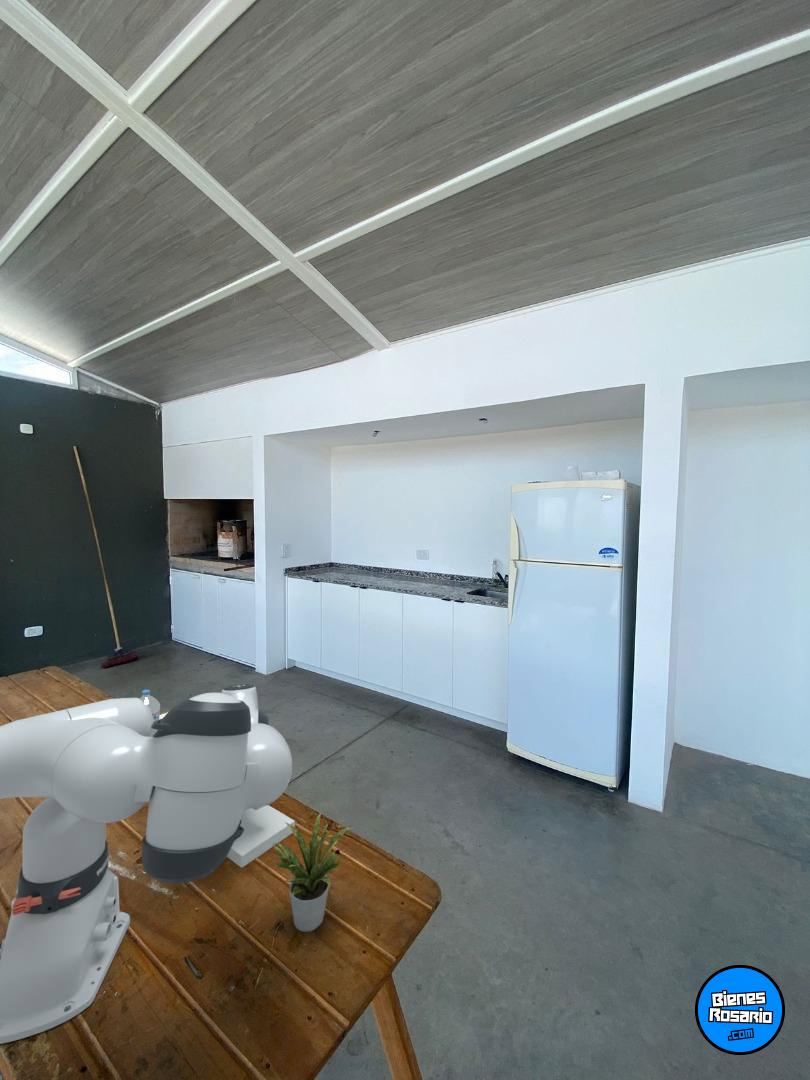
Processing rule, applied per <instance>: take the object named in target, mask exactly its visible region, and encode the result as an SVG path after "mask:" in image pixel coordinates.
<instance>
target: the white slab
mask: <svg viewBox="0 0 810 1080" xmlns="http://www.w3.org/2000/svg"><path fill="white" fill-rule="evenodd" d="M241 820H242V821H241V825H240V826H241V827H243V828H244V831H243V833H242V835H241V836H240V837H239V838H238V839H236V840H235V841H234V843H233V845H232V847H231V849H230V851H229V853H228V855H227V856H226V858H228V859H229V860H230V861H232V862H233V863H235V864H236V865H237V866H239V867H240V868H244V867H245V866H247V865H249V864H250V863H251V862H253V861H254V860H256V859H257V858H259V857H260V856H261V855H263V854H265V853H266V852H268V851H269V850H270V849H272V848H274V847H273V845H275V846H277V845H276V844H274V843H280V842H282V841H283V840H284V839H286V838H287V837H289V836H290V835H292V834H293V831H292V830H291V829H290V828H289V827H288V825H287V824H286V823H288V824H290V825H292V826H293V827H294V828H296V825H295V824H296V820H294V819H292V818H291V817H289V816H287V815H285V814H284V813H283V812H280V811H279V810H277V809H276V808H274V807H272V806H270V804H269V805H267V806H264V807H262V808H260V809H258V810H254V809H252V808H250V809H247V810H246V811H245V812H244V813H243V815H242V818H241ZM285 822H286V823H285ZM291 832H292V833H291ZM272 844H273V845H272ZM255 858H256V859H255Z"/></svg>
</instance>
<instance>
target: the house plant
mask: <svg viewBox="0 0 810 1080" xmlns="http://www.w3.org/2000/svg"><path fill="white" fill-rule="evenodd" d="M321 816H322V812H321V811H320V812H319V813H318V815H317V818H316V820H315V822H314V826H313V830H312V834H311V836H310V835H308V837H309V845H308V846H307V844H306V841H305V839H304V837H303V834H302V833H301V832H300V830H299V829H297V828H296V827H295V828H294V827H293V826H292V825H290V824H288V823H286V822H285V823H286V824H287V825H288V827H289V828H290V829H291V830H292V831H293V833H292V832H291V833H292V834H293V835H294V836H295V837H296V840H297V842H298V846H299V850H300V852H301V855H302V859H303V863H304V865H305V866H303V864H302V863H301V861H300V859H299V857H298V856H297V854H296V853H295V852H294V851H293V850H292V849H291V848H290V846H289V847H288V846H287V845H285V844H282V843H280V842H279V843H274V844H276V845H273V844H272V845H273V847H272V848H273V849H274V850H275V851H276V853H277V855H278V857H279V860H280V862H278V863H276V865H275V866H274V868H284V869H288V870H289V872H290V873H291V874H292V875H293V876H294V877H293V878H290V879H287V880H284V882H285V883H290V884H289V889H288V891H289V897H290V898H289V899H290V906H291V912H292V919H293V923H294V926H295V928H296V929H297V930H298V931H301V932H305V933H306V932H312V931H314V930H315V929H317V928H319V926H320V925H321V924H322V923H323V920H324V917H325V909H326V905H327V899H328V894H329V889H330V888H331V884H332V879H331V878H330V877H328V876H327V875H328V874H329V873H331V872H333V871H334V870H336V869H337V868H338V867H341V865H340V864H338V863H336V862H338V861H339V860H342V858H341V856H339V855H338V854H337V853H336V854H335V852H336V851H337V850H339V847H337V848H336V849H335V850H334V851H332V853H331V854H330V855H329V856H328V854H329V852H330V851H331V850H332V849H333V848H334V846H335V845H336V844H337V842H338V841H339V840H340V838H341V836H343V835H344V834H345V833H346V832H348V831H349V830H351V829H353V828H355V826H350V827H345V828H344V829H341V830H340V831H338V832H337V833H336V834H329V835H327V830H328V829H327V828H328V826H329V823H328V822H327V823H326V825H325V826H324V829H323V831H322V834H321V835H319V832H320V831H319V830H320V827H321ZM326 835H327V836H326ZM329 838H332V839H331V840H330V841H329V842H328V844H327V846H326V848H325V851H324V852H323V854H322V851H323V847H324V843H325V841H326V840H328V839H329ZM278 846H279V847H278ZM280 848H281V849H280ZM327 856H328V857H327Z"/></svg>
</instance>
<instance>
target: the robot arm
mask: <svg viewBox="0 0 810 1080" xmlns="http://www.w3.org/2000/svg"><path fill="white" fill-rule="evenodd" d="M258 701H259V700H258V692H257V688H256V686H255V685H254V684H251V683H240V684H239V683H238V684H231V685H228V686H225V687H224V688H223V689H222V690H221V692H206V693H201V694H197V695H195V696H193V697H187V698H185V699H183V700H181V701H179V702H178V703H177V704H175V705H174V706H172V707H171V708H170V709H169V710H168V712H166V714H165V715H164V716H163V718H161V719H160V718H159V720H156V721H153V715H152V713H151V710H150V709H149V707H148V706H147V705H146V704H145V703H144V702H143V701H142V700H140V699H139V697H121V698H109V699H103V700H100V701H94V702H91V703H87V704H82V705H78V706H72V707H69V708H65V709H61V710H56V711H53V712H48V713H43V714H39V715H35V716H30V717H27V718H21V719H17V720H14V721H11V722H8V723H6V724H2V725H0V800H1V799H2V800H3V799H11V798H45V799H44V800H43V801H42V802H40V803H39V804H38V805H36V807H35V808H34V809H33V811H32V812H31V814H30V815H29V816H28V818H27V819H26V821H25V824H24V826H23V829H22V865H21V866H22V867H21V869H20V871H19V875H18V880H17V882H16V883H17V884H16V896H15V897H14V899H13V900H11V912H10V917H9V921H8V924H7V925H8V926H7V930H6V932H5V938H4V939H2V940H1V942H0V1044H7V1043H10V1042H14V1041H17V1040H21V1039H25V1038H27V1037H32V1036H34V1035H38V1034H40V1033H44V1032H46V1031H48V1030H50V1029H53V1028H56V1027H58V1026H60V1025H61V1024H63V1023H66V1022H67V1021H69V1020H71V1019H72V1018H74V1017H76V1016H78V1015H79V1014H80V1013H82V1012H83V1011H84V1010H86V1009H87V1008H88V1007H90V1006H91V1005H92V1003H93V1002H94V1000H95V999H96V996H97V994H98V992H99V990H100V987H101V986H102V983H103V981H104V979H105V978H106V975H107V973H108V971H109V968H110V966H111V964H112V962H113V961H114V958H115V956H116V954H117V951H118V949H119V947H120V946H121V943H122V941H123V939H124V937H125V934H126V933H127V931H128V928H129V926H130V924H131V916H130V915H129V913H127V912H124V911H120V895H119V893H120V891H119V889H120V888H119V877H118V876H117V875H116V874H114V873H113V872H112V871H111V870H110V869H109V857H110V850H109V844H108V841H107V839H106V835H107V833H106V832H107V824H112V823H117V822H121V821H124V820H126V819H128V818H130V817H131V816H133V815H134V814H136V813H137V812H138V811H140V810H141V809H142V808H143V807H144V806H145V805H146V804H147V803H148V809H147V816H146V817H147V819H146V829H145V835H144V836H143V837H142V842H141V864H142V869H143V871H144V872H145V873H146V874H147V875H148V876H149V877H150V878H152V879H153V880H155V881H157V882H160V883H165V884H185V883H191V882H195V881H199V880H202V879H204V878H206V877H208V876H209V875H211V874H212V873H214V871H215V870H216V869H217V868H219V866H220V865H222V864H223V862H224V861H225V860H226V858H227V855H228V853H229V851H230V849H231V847H232V845H233V843H234V841H235V840H236V839H238V838H239V837H240V836H241V835H242V833H243V831H244V828H243V827H241V826H240V825H241V821H242V820H241V818H242V815H243V813H244V812H245V811H246V810H247V809H250V808H252V809H254V810H258V809H260V808H262V807H264V806H267V805H269V806H270V804H272V803H274V802H275V801H276V800H277V799H279V798H280V796H282V795H283V793H284V792H285V791H286V789H287V787H288V786H289V783H290V781H291V777H292V773H293V771H292V770H293V758H292V754H291V749H290V746H289V744H288V743H287V741H286V740H285V738H284V736H283V735H282V734H281V733H280V732H279V731H278V730H277V729H276V728H275V727H273V726H271V725H269V716H268V715H267V714H266V713H265V712H263V710H261V709H260V708H259V703H258ZM153 729H157V732H156V733H155V734H154V735H153V737H151V735H152V732H153Z"/></svg>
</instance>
